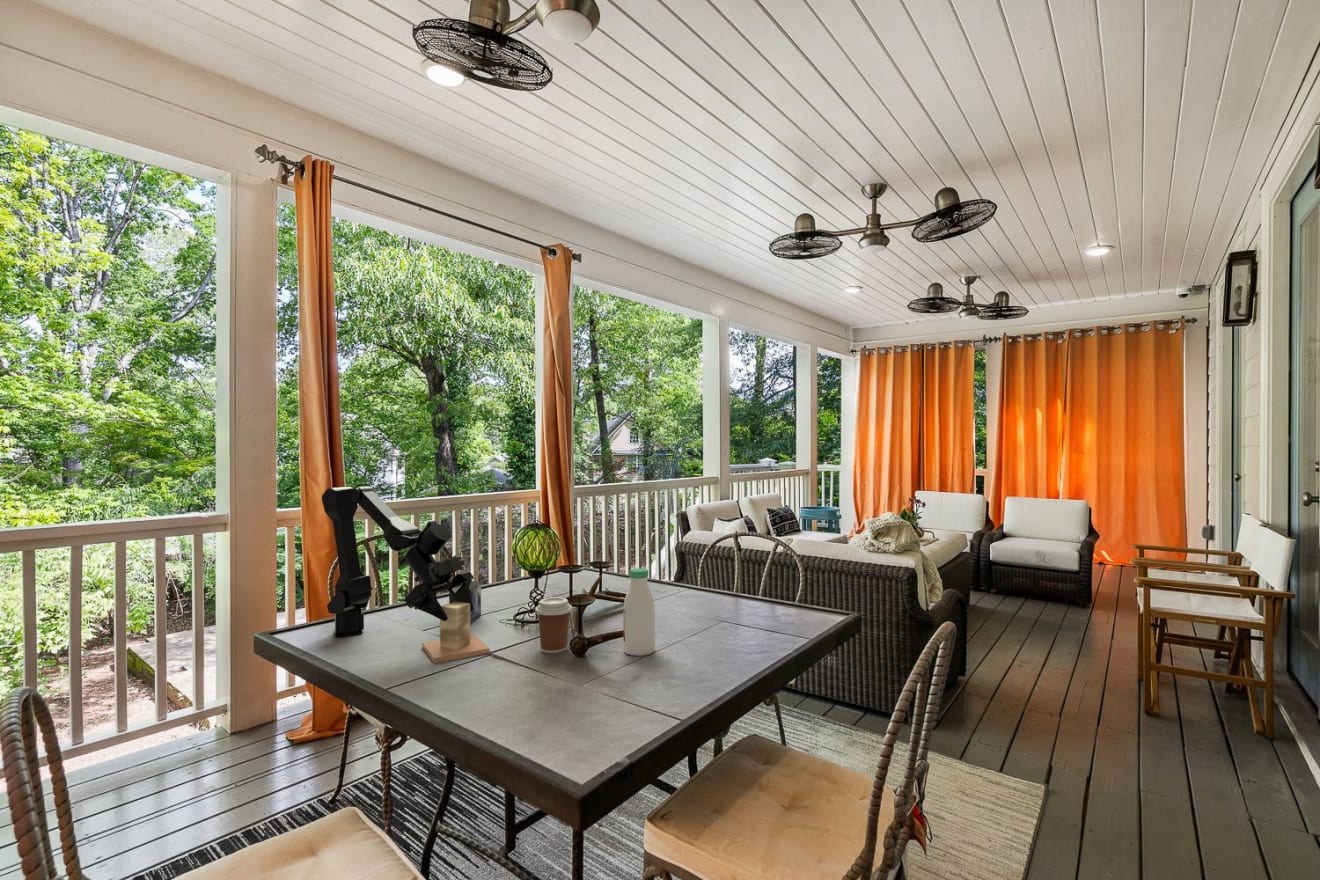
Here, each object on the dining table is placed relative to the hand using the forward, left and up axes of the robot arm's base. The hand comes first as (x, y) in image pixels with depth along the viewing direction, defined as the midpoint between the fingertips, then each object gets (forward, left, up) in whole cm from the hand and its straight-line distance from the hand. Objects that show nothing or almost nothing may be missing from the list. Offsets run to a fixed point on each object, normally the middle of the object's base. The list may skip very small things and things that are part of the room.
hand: (459, 615), depth 152 cm
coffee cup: (+20, -11, -9) cm, 25 cm away
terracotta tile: (-1, +1, -9) cm, 9 cm away
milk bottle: (+37, -24, -9) cm, 45 cm away
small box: (+8, +26, -9) cm, 29 cm away
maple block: (-1, +1, -8) cm, 8 cm away
